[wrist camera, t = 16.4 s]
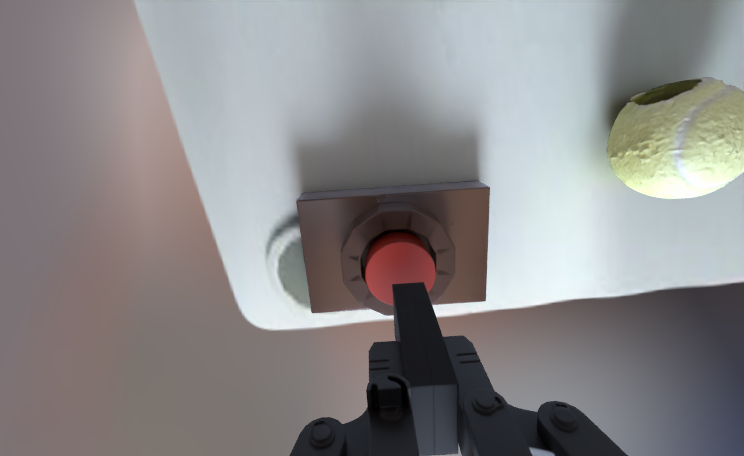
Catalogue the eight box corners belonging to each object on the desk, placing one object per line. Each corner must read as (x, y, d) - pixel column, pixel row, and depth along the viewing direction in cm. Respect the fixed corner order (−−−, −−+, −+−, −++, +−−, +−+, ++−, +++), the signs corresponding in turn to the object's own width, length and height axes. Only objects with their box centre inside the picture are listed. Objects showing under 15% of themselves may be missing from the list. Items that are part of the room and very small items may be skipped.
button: (367, 293, 22) (367, 308, 21) (362, 234, 21) (362, 244, 19) (430, 289, 22) (436, 303, 21) (429, 229, 21) (435, 239, 19)
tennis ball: (687, 169, 24) (803, 190, 18) (588, 200, 24) (666, 231, 18) (682, 71, 22) (811, 54, 16) (574, 107, 23) (657, 105, 16)
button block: (315, 297, 26) (307, 329, 23) (301, 192, 24) (289, 208, 20) (476, 286, 26) (495, 316, 23) (479, 180, 24) (500, 193, 20)
